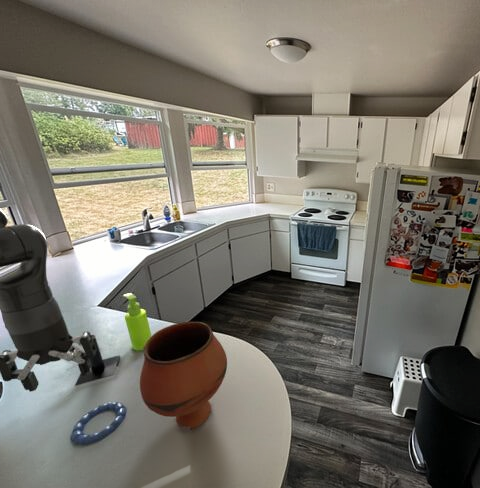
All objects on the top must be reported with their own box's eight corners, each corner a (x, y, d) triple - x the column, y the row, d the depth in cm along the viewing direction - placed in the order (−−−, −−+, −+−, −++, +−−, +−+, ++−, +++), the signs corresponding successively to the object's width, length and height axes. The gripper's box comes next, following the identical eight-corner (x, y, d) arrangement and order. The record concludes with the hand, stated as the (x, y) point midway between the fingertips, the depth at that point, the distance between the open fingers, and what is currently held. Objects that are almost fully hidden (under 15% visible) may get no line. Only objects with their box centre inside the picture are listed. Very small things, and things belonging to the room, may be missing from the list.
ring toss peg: (75, 388, 73) (61, 353, 69) (85, 366, 80) (73, 333, 76) (114, 377, 77) (103, 343, 73) (120, 357, 85) (111, 325, 80)
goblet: (215, 454, 58) (202, 372, 50) (132, 453, 58) (105, 370, 50) (240, 383, 76) (233, 315, 68) (177, 383, 76) (162, 313, 68)
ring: (65, 456, 57) (62, 450, 56) (81, 416, 66) (79, 410, 65) (122, 434, 62) (120, 429, 61) (130, 400, 70) (128, 394, 70)
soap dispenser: (146, 335, 95) (135, 289, 88) (155, 342, 91) (145, 295, 85) (128, 345, 90) (115, 296, 83) (137, 352, 87) (124, 303, 80)
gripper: (86, 303, 58) (105, 358, 63) (-5, 320, 51) (24, 380, 57) (76, 321, 52) (97, 380, 57) (-30, 343, 45) (6, 408, 50)
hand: (61, 380), depth 57 cm, fingers open, 8 cm apart
